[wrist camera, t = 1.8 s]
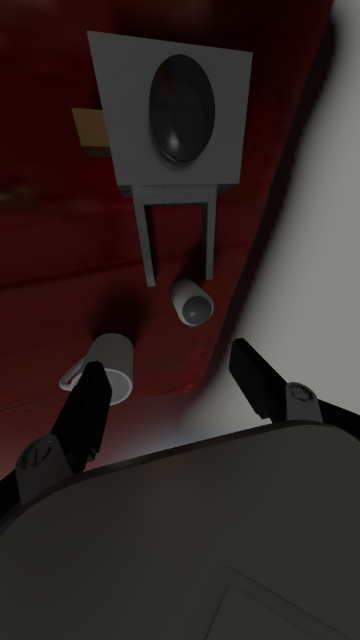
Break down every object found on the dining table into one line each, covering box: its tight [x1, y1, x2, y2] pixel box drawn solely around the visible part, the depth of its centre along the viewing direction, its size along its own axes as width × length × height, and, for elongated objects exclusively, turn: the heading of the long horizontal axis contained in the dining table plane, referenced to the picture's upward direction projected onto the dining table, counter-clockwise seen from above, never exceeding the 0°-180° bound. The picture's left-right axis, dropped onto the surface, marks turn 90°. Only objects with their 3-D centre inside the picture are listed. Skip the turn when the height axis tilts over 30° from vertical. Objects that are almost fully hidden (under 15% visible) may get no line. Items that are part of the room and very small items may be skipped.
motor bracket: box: [72, 31, 253, 287], centre depth 20 cm, size 21×17×8 cm
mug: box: [59, 332, 133, 405], centre depth 28 cm, size 11×9×10 cm
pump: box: [170, 278, 213, 328], centre depth 26 cm, size 7×6×9 cm
